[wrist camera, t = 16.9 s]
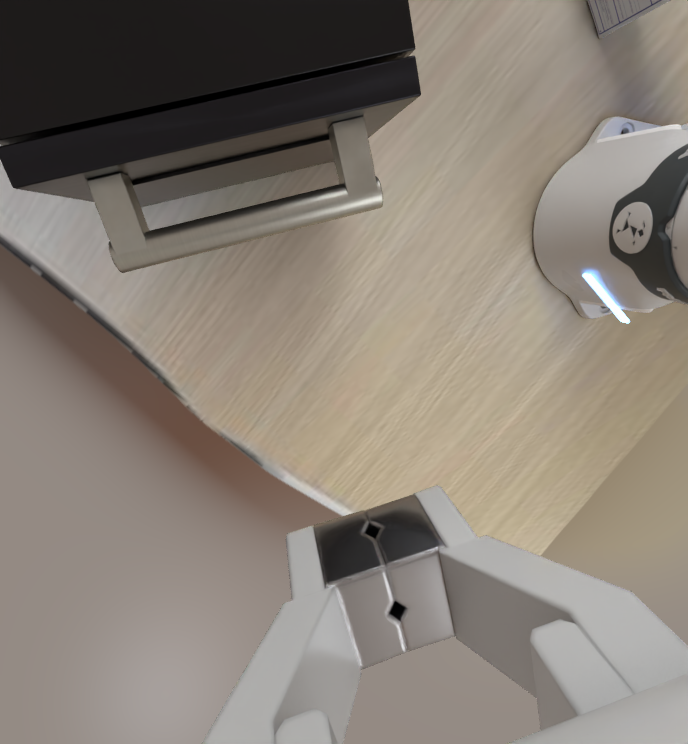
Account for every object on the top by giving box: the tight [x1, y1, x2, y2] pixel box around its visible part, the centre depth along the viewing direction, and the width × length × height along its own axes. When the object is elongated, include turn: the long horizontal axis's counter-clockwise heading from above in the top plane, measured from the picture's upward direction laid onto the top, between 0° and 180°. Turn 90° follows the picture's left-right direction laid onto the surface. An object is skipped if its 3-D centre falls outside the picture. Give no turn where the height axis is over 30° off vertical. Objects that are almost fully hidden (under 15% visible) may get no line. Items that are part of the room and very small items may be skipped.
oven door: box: [0, 56, 421, 273], centre depth 29 cm, size 6×18×20 cm, turn 103°
